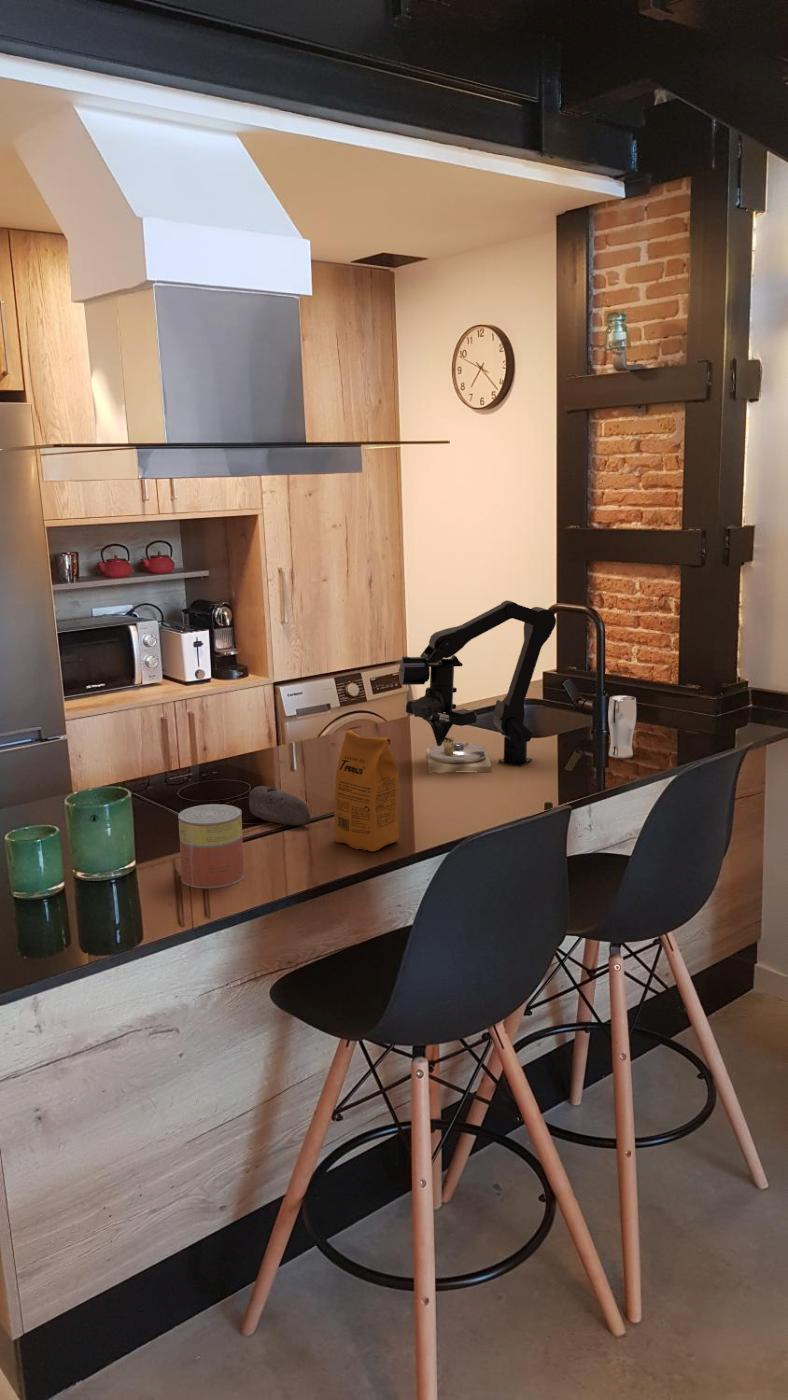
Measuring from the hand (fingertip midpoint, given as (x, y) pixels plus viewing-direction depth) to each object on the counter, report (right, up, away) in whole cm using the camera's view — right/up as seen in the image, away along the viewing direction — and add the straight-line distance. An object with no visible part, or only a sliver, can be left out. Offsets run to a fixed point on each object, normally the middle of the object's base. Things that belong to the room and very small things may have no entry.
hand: (439, 745), depth 266 cm
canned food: (-44, -21, -71) cm, 86 cm away
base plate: (+5, -4, +4) cm, 8 cm away
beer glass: (+47, -3, +10) cm, 48 cm away
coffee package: (-17, -17, -53) cm, 58 cm away
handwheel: (+5, -3, +4) cm, 7 cm away
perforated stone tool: (-35, -15, -40) cm, 55 cm away
